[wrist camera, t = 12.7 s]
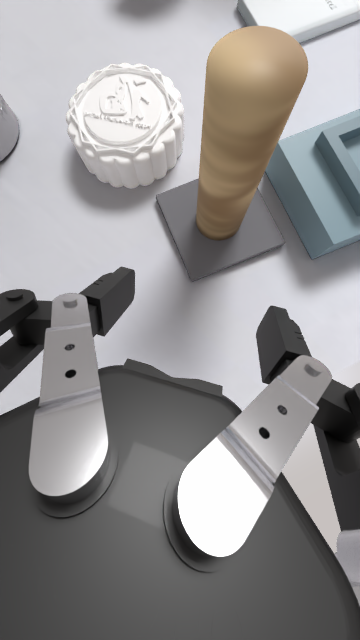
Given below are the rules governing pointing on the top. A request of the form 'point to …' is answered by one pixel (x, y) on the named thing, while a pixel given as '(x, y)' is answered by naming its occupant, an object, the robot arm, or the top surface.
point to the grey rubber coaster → (216, 254)
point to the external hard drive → (300, 15)
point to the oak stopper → (243, 120)
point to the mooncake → (127, 124)
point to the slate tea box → (321, 183)
